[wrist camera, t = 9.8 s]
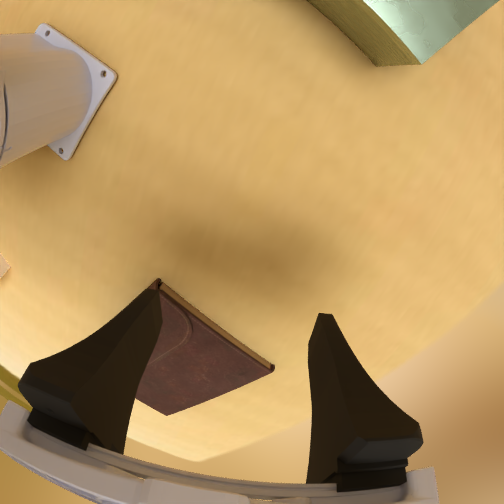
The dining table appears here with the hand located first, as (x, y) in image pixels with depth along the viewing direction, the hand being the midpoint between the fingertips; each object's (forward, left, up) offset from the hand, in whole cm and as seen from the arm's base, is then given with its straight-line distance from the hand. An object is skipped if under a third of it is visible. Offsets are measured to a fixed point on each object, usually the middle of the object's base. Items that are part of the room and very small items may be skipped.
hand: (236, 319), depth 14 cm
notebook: (+5, -20, -11) cm, 23 cm away
